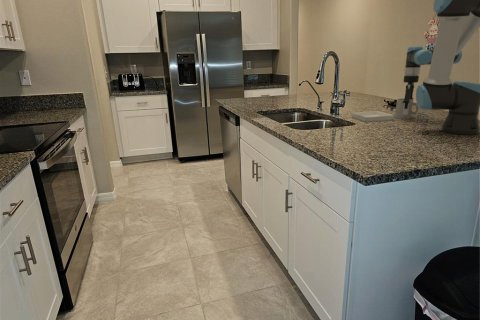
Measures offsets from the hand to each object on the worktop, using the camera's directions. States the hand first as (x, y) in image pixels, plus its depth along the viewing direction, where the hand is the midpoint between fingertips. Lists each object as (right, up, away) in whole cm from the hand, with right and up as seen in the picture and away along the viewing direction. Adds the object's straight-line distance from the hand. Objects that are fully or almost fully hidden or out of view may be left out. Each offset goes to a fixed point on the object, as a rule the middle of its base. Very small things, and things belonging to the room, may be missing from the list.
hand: (406, 112), depth 185 cm
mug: (0, -3, +1) cm, 4 cm away
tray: (-20, -4, +2) cm, 20 cm away
